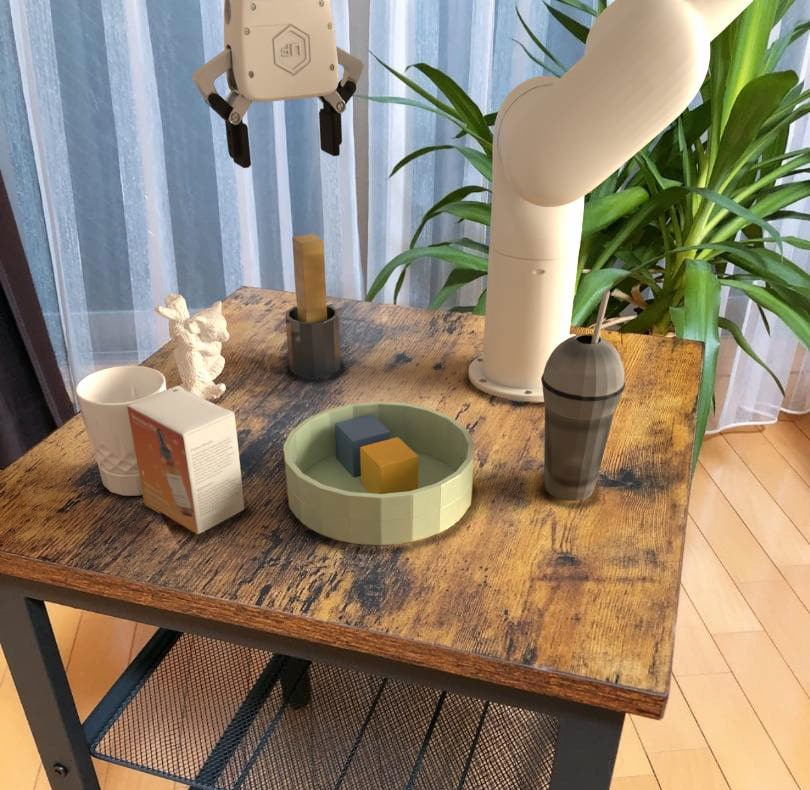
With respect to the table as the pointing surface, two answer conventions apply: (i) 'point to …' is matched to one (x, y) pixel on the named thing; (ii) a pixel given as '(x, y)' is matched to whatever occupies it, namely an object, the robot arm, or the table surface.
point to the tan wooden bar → (310, 278)
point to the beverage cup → (579, 410)
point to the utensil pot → (313, 344)
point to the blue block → (357, 440)
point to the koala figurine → (197, 345)
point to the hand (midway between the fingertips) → (287, 159)
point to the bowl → (380, 513)
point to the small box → (187, 458)
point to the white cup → (116, 421)
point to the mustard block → (389, 467)
